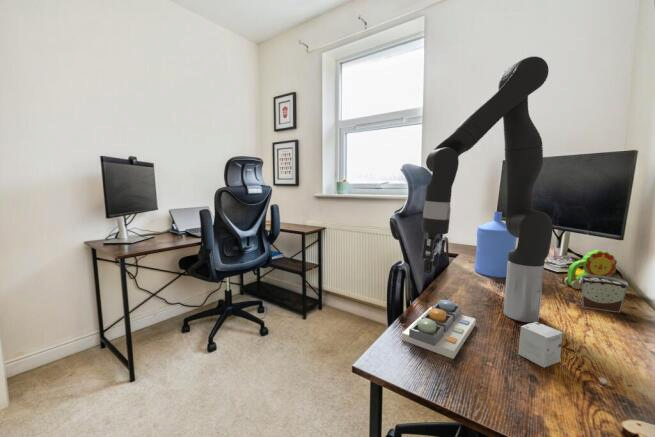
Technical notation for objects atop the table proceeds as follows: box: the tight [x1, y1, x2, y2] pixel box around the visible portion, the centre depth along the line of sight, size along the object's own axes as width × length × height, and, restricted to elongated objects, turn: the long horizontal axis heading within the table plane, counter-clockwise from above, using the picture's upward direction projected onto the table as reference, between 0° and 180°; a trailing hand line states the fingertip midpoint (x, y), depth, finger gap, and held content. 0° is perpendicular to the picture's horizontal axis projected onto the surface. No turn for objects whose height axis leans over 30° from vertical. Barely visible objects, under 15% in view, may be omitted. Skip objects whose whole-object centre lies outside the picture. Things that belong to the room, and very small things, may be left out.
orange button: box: [429, 309, 446, 323], centre depth 81 cm, size 4×4×2 cm
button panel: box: [401, 301, 476, 360], centre depth 80 cm, size 13×23×4 cm, turn 140°
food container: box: [579, 275, 630, 313], centre depth 97 cm, size 12×6×10 cm, turn 65°
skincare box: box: [517, 321, 564, 369], centre depth 69 cm, size 6×6×7 cm
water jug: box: [474, 211, 518, 279], centre depth 131 cm, size 16×16×28 cm
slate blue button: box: [438, 299, 456, 313], centre depth 87 cm, size 4×4×2 cm
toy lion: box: [564, 249, 618, 290], centre depth 113 cm, size 16×6×15 cm, turn 84°
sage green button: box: [418, 319, 436, 335], centre depth 75 cm, size 4×4×2 cm
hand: (431, 269), depth 89 cm, fingers open, 8 cm apart
